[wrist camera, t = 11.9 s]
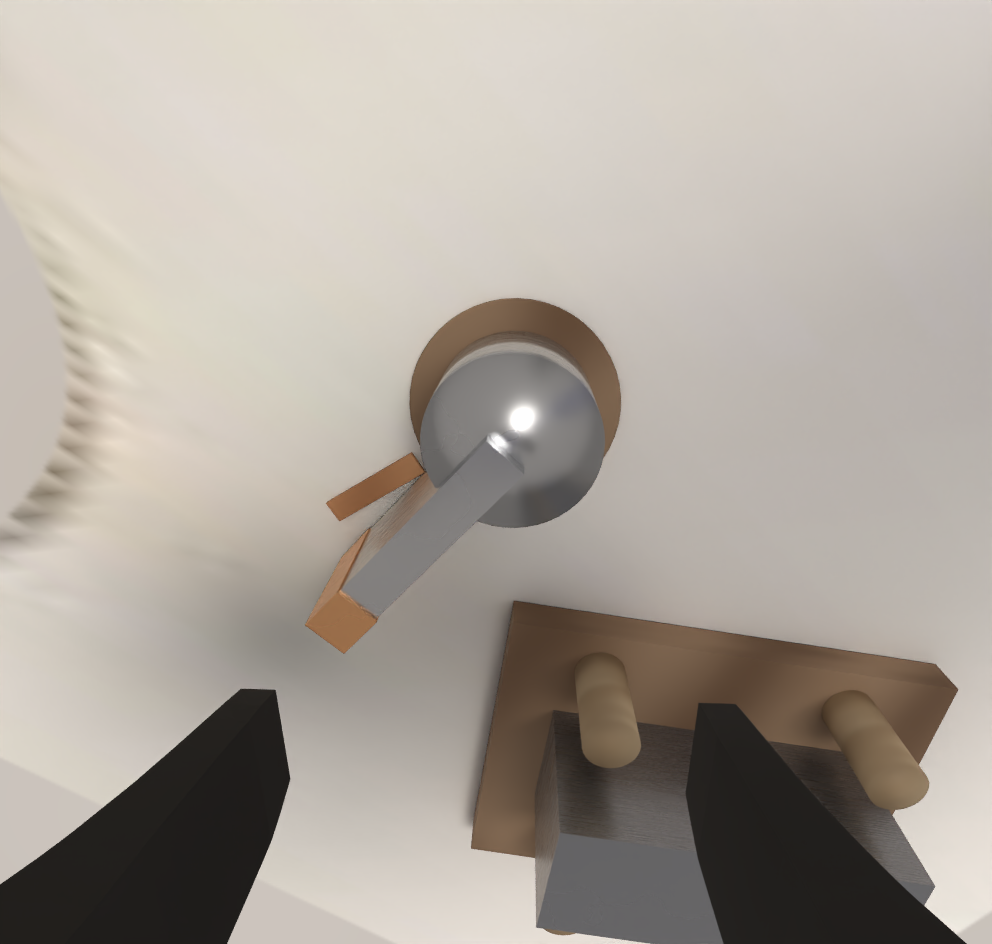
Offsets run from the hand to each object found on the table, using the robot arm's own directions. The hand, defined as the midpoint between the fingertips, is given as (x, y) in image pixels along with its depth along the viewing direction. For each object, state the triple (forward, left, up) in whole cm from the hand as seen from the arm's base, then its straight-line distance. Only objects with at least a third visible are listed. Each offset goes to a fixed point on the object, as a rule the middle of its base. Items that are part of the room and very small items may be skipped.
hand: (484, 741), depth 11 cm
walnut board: (-8, +8, -9) cm, 15 cm away
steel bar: (-8, +8, -8) cm, 14 cm away
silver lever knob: (+2, -1, -9) cm, 9 cm away
